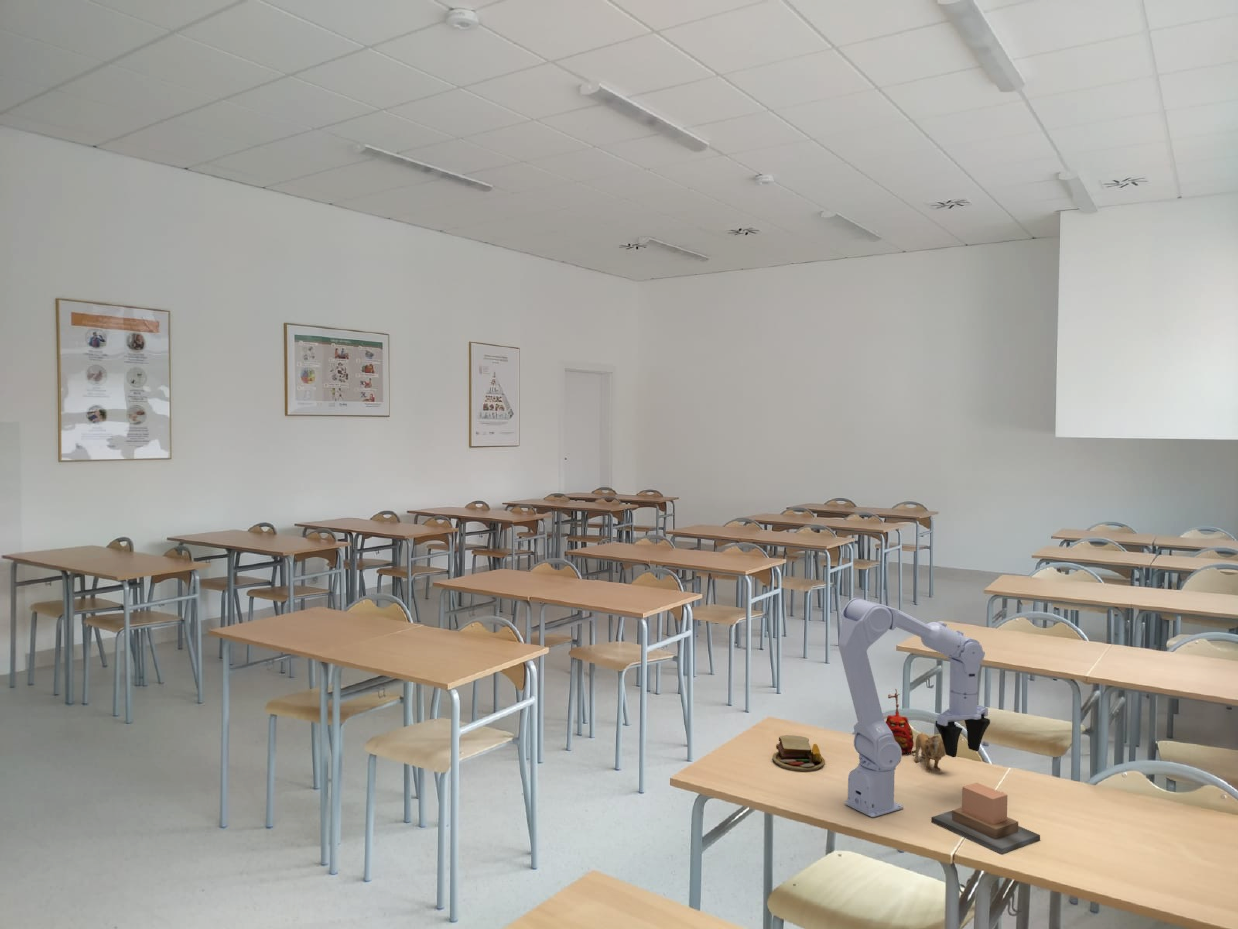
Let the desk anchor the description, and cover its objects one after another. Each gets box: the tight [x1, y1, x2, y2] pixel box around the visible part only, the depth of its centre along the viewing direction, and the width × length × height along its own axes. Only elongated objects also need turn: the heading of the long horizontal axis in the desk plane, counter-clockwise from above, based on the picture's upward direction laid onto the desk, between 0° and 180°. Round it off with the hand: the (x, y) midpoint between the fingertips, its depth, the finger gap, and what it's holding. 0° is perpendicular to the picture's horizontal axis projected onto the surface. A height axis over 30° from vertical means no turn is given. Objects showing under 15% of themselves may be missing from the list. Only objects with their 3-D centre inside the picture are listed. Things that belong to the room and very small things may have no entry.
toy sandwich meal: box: [772, 734, 826, 772], centre depth 207 cm, size 12×14×5 cm
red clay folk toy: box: [885, 688, 915, 755], centre depth 215 cm, size 8×7×15 cm
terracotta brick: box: [961, 782, 1008, 825], centre depth 170 cm, size 4×7×5 cm, turn 30°
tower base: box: [930, 806, 1041, 855], centre depth 170 cm, size 12×16×3 cm
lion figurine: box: [911, 732, 947, 773], centre depth 205 cm, size 15×5×9 cm, turn 12°
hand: (962, 753), depth 186 cm, fingers open, 7 cm apart
